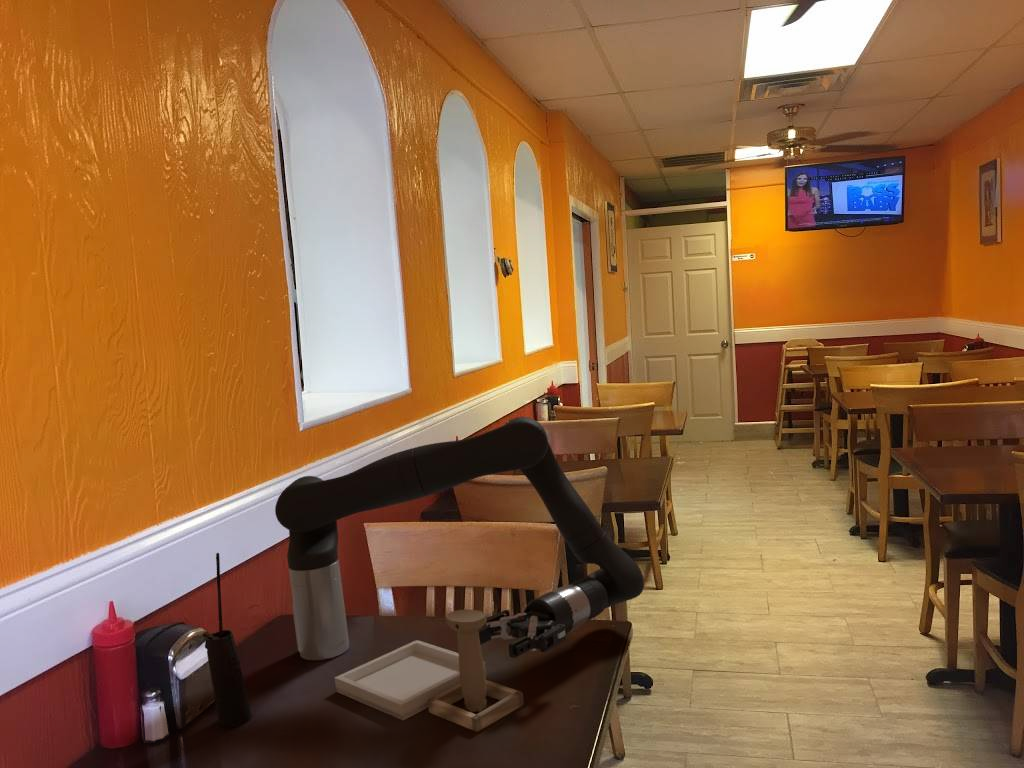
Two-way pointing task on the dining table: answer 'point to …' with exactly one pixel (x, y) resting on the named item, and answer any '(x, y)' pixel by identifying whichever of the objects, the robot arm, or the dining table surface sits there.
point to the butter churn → (226, 672)
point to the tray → (402, 679)
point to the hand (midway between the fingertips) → (491, 645)
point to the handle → (470, 656)
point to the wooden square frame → (477, 722)
